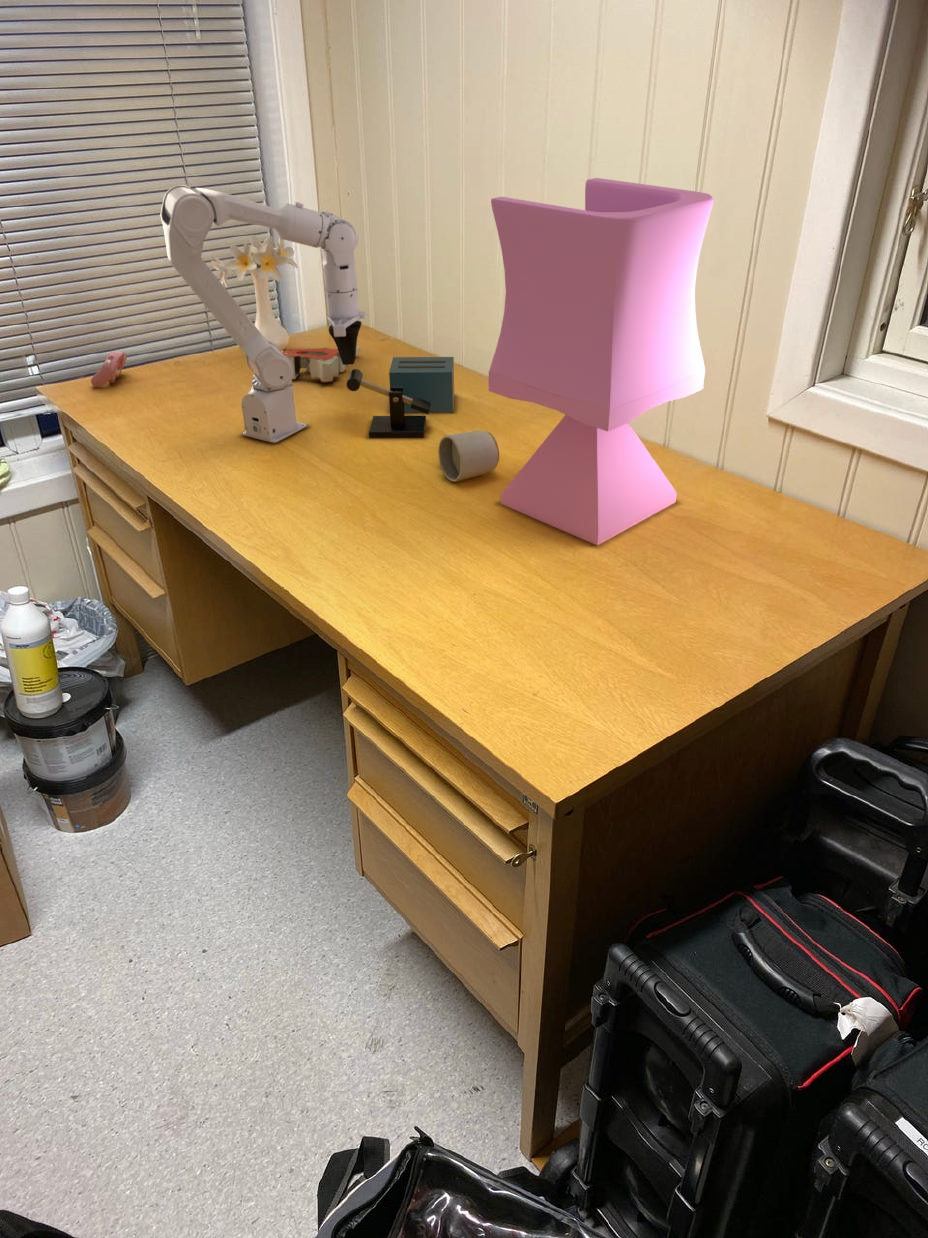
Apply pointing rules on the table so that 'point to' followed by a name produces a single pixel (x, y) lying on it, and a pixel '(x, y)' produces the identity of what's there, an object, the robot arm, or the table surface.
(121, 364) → the pink lumpy figure
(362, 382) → the lever
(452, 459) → the ceramic mug
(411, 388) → the toaster
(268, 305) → the flower vase
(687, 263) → the pink tall piece
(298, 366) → the red grey lobed slab
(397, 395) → the bracket
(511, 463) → the table surface
